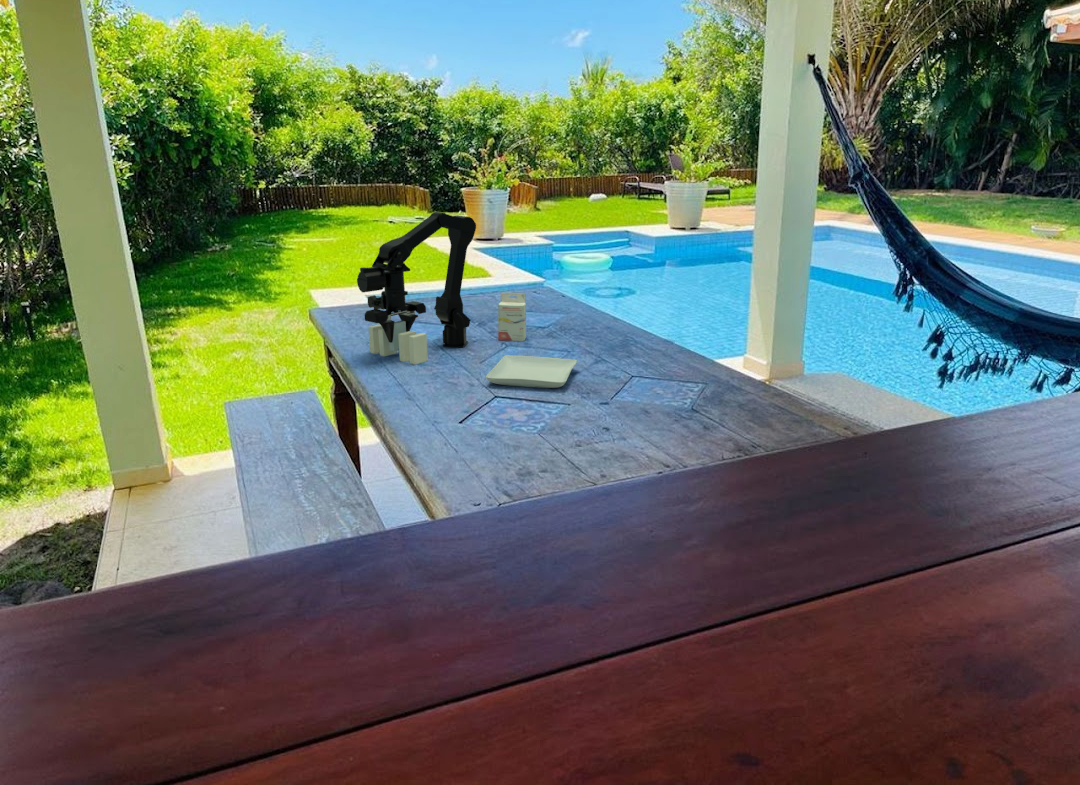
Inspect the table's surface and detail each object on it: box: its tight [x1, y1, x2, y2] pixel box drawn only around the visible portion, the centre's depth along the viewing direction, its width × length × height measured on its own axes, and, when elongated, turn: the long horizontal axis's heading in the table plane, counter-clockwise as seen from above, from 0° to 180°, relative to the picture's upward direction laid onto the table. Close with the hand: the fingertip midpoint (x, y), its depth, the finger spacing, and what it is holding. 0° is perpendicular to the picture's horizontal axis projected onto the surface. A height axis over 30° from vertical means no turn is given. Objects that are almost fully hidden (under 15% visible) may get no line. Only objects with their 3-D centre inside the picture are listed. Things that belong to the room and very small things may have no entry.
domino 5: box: [409, 332, 429, 366], centre depth 221 cm, size 2×5×8 cm, turn 140°
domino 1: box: [368, 323, 382, 355], centre depth 231 cm, size 2×5×8 cm, turn 140°
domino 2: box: [378, 328, 398, 357], centre depth 229 cm, size 2×5×8 cm, turn 140°
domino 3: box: [389, 320, 406, 352], centre depth 225 cm, size 2×5×8 cm, turn 140°
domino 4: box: [398, 330, 417, 363], centre depth 223 cm, size 2×5×8 cm, turn 140°
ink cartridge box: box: [497, 292, 527, 342], centre depth 245 cm, size 9×5×15 cm, turn 84°
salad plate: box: [485, 354, 578, 389], centre depth 207 cm, size 21×21×3 cm
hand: (397, 340), depth 226 cm, fingers closed on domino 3, 5 cm apart
